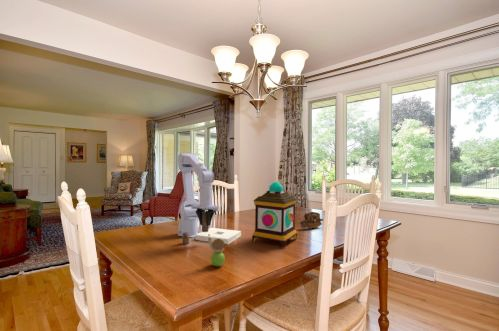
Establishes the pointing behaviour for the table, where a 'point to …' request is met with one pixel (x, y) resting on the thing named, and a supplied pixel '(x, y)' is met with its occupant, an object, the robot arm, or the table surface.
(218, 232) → the hole board
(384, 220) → the table surface
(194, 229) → the robot arm
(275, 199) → the decorative lantern
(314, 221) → the wooden carving
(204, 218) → the tall dowel
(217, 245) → the snail figurine
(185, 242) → the short dowel
